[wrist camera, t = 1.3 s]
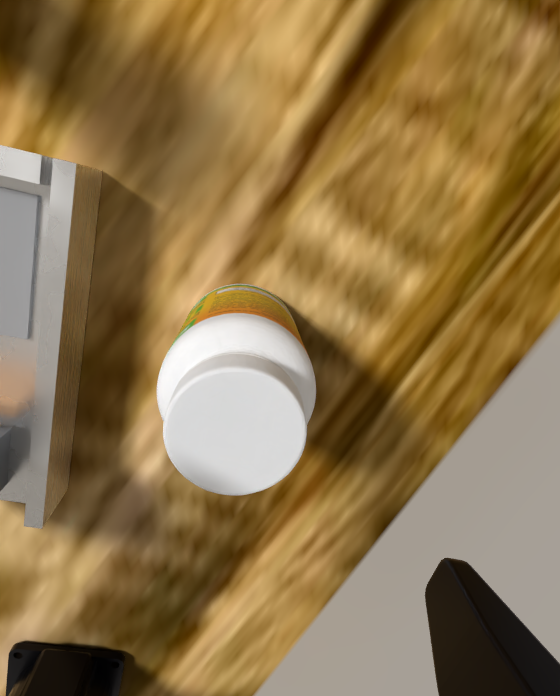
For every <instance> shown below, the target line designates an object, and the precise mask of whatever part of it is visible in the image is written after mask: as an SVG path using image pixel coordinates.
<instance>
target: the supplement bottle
mask: <svg viewBox="0 0 560 696" xmlns="http://www.w3.org/2000/svg"><path fill="white" fill-rule="evenodd" d="M315 399H316V381H315V375H314V371H313V367H312V364H311V361H310V358H309V356H308V353H307V351H306V349H305V347H304V344H303V342H302V339H301V337H300V335H299V332H298V330H297V327H296V324H295V322H294V319H293V317H292V315H291V314H290V312H289V310H288V309H287V307H286V306H285V305H284V303H283V302H282V301H281V300H280V299H279V298H278V297H276V296H275V295H274V294H272V293H271V292H269V291H267V290H265V289H263V288H260V287H257V286H254V285H249V284H231V285H227V286H223V287H220V288H217V289H215V290H213V291H211V292H209V293H208V294H206V295H205V296H204V297H203V298H201V299H200V300H199V301H198V302H197V304H196V305H195V306H194V307H193V309H192V310H191V312H190V313H189V315H188V317H187V319H186V321H185V323H184V324H183V326H182V328H181V330H180V332H179V334H178V335H177V337H176V339H175V341H174V342H173V344H172V346H171V347H170V349H169V351H168V353H167V355H166V357H165V359H164V361H163V364H162V366H161V369H160V372H159V376H158V383H157V401H158V407H159V410H160V414H161V416H162V419H163V421H164V424H163V437H164V443H165V447H166V450H167V453H168V455H169V457H170V459H171V461H172V463H173V464H174V466H175V467H176V468H177V470H178V471H179V472H180V473H181V474H182V475H183V476H184V477H185V478H187V479H188V480H189V481H191V482H192V483H194V484H195V485H197V486H199V487H201V488H203V489H205V490H207V491H211V492H213V493H218V494H224V495H245V494H251V493H255V492H259V491H261V490H264V489H267V488H269V487H271V486H273V485H274V484H276V483H278V482H279V481H280V480H282V479H283V478H284V477H285V476H287V475H288V474H289V473H290V472H291V470H292V469H293V468H294V466H295V465H296V464H297V462H298V460H299V458H300V457H301V455H302V452H303V450H304V447H305V443H306V437H307V424H308V422H309V420H310V418H311V415H312V412H313V409H314V405H315Z"/></svg>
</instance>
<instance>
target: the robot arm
mask: <svg viewBox="0 0 560 696" xmlns="http://www.w3.org/2000/svg"><path fill="white" fill-rule="evenodd" d="M425 599H426V607H427V614H428V622H429V629H430V636H431V644H432V652H433V659H434V667H435V674H436V680H437V687H438V692H439V696H560V664H559V662H558V661H557V660H556V659H555V658H554V657H553V656H552V655H551V654H550V652H549V651H548V650H547V649H546V648H545V647H544V646H543V645H542V644H541V643H540V641H539V640H538V639H537V638H536V637H535V636H534V635H533V634H532V633H531V632H530V631H529V629H528V628H527V627H526V626H525V625H524V624H523V623H522V622H521V621H520V620H519V618H518V617H517V616H516V615H515V614H514V613H513V612H512V611H511V610H510V608H509V607H508V606H507V605H506V604H505V603H504V602H503V601H502V600H501V599H500V597H499V596H498V595H497V594H496V593H495V592H494V591H493V590H492V589H491V588H490V586H489V585H488V584H487V583H486V582H485V581H484V580H483V579H482V578H481V577H480V575H479V574H478V573H477V572H476V571H475V570H474V569H473V568H472V567H471V566H470V565H469V564H468V563H467V562H465V561H462V560H457V559H451V558H444V559H443V560H441V562H440V563H439V565H438V567H437V568H436V570H435V572H434V573H433V575H432V577H431V579H430V581H429V582H428V584H427V587H426V592H425ZM124 664H125V656H124V655H123V654H122V653H118V652H109V651H99V650H90V649H80V648H70V647H60V646H51V645H41V644H31V643H16V644H15V645H13V647H12V649H11V651H10V653H9V659H8V673H7V686H6V696H119V693H120V687H121V681H122V676H123V670H124Z"/></svg>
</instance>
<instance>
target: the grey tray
mask: <svg viewBox="0 0 560 696" xmlns="http://www.w3.org/2000/svg"><path fill="white" fill-rule="evenodd" d="M102 173H103V171H101V170H98V169H94V168H90V167H87V166H83V165H80V164H76V163H72V162H68V161H64V160H59V159H55V158H50V157H47V156H43V155H39V154H35V153H31V152H27V151H23V150H19V149H14V148H10V147H6V146H2V145H0V500H6V501H13V502H20V503H26V507H25V520H24V526H26V527H34V528H41V529H42V528H43V527H44V525H45V524H46V522H47V521H48V519H49V517H50V516H51V514H52V513H53V511H54V510H55V508H56V507H57V505H58V504H59V502H60V500H61V499H62V497H63V496H64V494H65V493H66V491H67V490H68V483H69V473H70V464H71V455H72V446H73V437H74V428H75V419H76V410H77V401H78V391H79V382H80V373H81V364H82V355H83V346H84V337H85V328H86V319H87V309H88V300H89V291H90V282H91V273H92V264H93V255H94V246H95V237H96V228H97V218H98V209H99V200H100V191H101V182H102Z"/></svg>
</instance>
